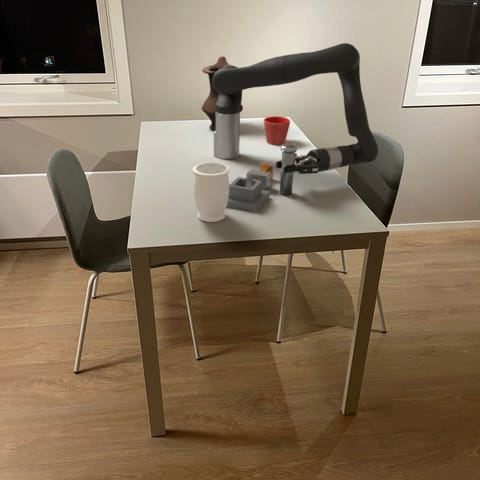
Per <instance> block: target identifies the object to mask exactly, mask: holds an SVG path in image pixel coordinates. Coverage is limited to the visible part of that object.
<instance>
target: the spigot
mask: <svg viewBox="0 0 480 480" xmlns="http://www.w3.org/2000/svg"><path fill="white" fill-rule="evenodd" d="M280 151H281V160H282V163H281V168H280V180H279V181H280V183H279V195H280V196H284V197H290V196H292V195H293V187H294V186H293V183H294V173H295V171H294V172H290V173H284V172H283V168H284V166H287V165H292V164H294V160H295V153H296V152H297V151H298V145H296V144H293V143H284V144H282V145H280Z"/></svg>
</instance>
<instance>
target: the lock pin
mask: <svg viewBox="0 0 480 480" xmlns="http://www.w3.org/2000/svg"><path fill="white" fill-rule="evenodd" d="M274 167H275V166H274V164H269V163H263V162H261V163H260V166H259V169H260V170H259V171H264V172H270V173H271V174H270V181H272V180H273V179H274V178H273V177H274ZM253 180H259V178H258V177H255V178H254V179H253Z"/></svg>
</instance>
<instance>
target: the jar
mask: <svg viewBox="0 0 480 480" xmlns="http://www.w3.org/2000/svg"><path fill="white" fill-rule="evenodd" d="M192 172H193V175H194V176H193V183H192V184H193V185H192V191H193V197H194V201H195V206H196V209H197V211H198V213H197V217H198V219H199V220H201V221H203V222H205V223H206V222H207V223H217V222H221V221H222V220H224V219H225V218H226V216H227V215H226V212H225V211H226V208H227V203H228V197H229V185H230V180H229V173H230V167H229V166H228V165H226V163H225V164H224V163H221V162H217V161H215V162H214V161H207V162H206V161H205V162H201V163H197V164H196V165H194V166H193V167H192Z"/></svg>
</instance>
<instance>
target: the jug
mask: <svg viewBox="0 0 480 480" xmlns="http://www.w3.org/2000/svg"><path fill="white" fill-rule="evenodd" d="M228 65H230V64H229V63H228V61H227V58H226V56H219V57H218V60H217V62H216V63H215V64H211V65H208V66H204V67H203V68H202V70H201V71H202V72H203V73H204V74H207V76H208V80H209V89H210V90H209V95H208V96H207V98H206V99H205V101H203V102H204V103H203V104H202V106H201V111H202V112H203V113H204V114H205V115H206V116H207V117H208V119H209V120H210V122H211V124H210V125H209V130H211V131H213V132H214V131H216V111H215V106H216V102H217V99H218V92H217V91H216V90H215V89H214V88H213V85H212V78H213V76H214V74H215V73H216V72H217V71H218V70H219V69H221V68H223V67H225V66H228ZM236 67H237V68H239V67H238V66H236ZM243 109H244V107H243V105H242V103H241V106H240V113H241V112H242V111H243Z"/></svg>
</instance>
